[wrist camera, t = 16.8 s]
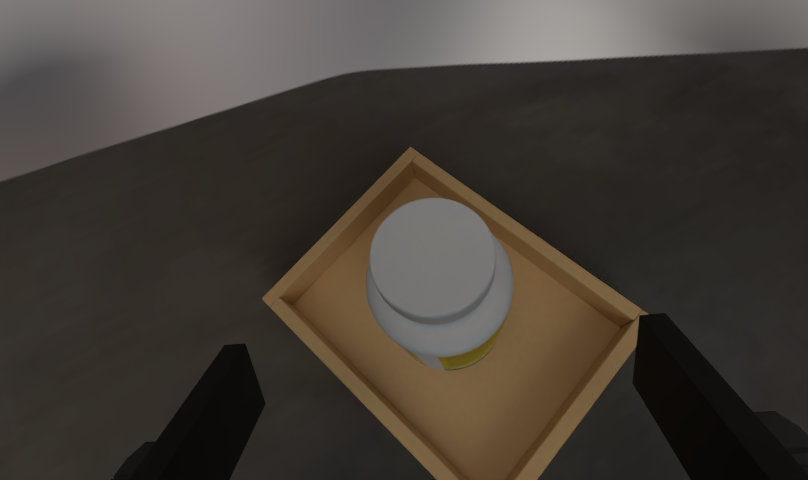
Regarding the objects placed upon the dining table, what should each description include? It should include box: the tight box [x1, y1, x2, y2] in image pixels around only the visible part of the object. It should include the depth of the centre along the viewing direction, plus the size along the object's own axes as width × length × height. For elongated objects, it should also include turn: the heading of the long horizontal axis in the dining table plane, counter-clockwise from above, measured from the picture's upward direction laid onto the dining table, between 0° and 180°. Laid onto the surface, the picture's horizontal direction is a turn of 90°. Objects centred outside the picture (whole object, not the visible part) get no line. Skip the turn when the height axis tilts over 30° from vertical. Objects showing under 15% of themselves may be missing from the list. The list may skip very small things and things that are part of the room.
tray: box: [262, 147, 647, 480], centre depth 26 cm, size 18×14×3 cm
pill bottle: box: [366, 198, 513, 370], centre depth 21 cm, size 6×6×12 cm
